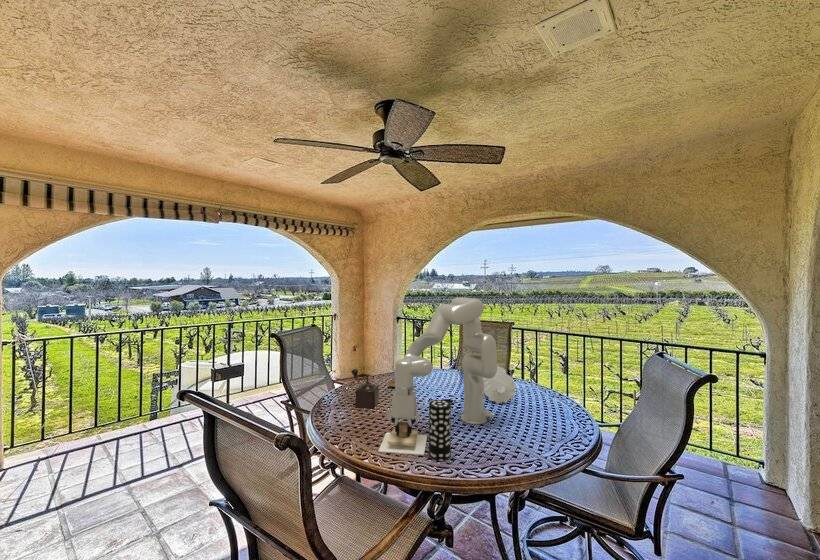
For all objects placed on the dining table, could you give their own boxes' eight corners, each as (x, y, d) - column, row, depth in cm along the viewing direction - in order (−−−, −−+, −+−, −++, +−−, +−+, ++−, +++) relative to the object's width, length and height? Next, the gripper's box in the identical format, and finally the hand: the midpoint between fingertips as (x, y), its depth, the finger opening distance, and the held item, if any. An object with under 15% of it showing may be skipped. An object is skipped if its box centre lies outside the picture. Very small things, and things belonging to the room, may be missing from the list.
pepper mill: (379, 401, 186) (379, 369, 186) (374, 409, 175) (374, 374, 175) (352, 399, 188) (352, 367, 188) (345, 407, 178) (345, 373, 177)
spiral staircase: (497, 397, 204) (509, 412, 179) (471, 384, 205) (479, 397, 180) (510, 369, 205) (524, 380, 180) (484, 357, 205) (494, 366, 180)
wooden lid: (418, 433, 144) (418, 419, 144) (415, 445, 133) (415, 430, 133) (392, 431, 145) (392, 417, 145) (387, 443, 134) (387, 428, 134)
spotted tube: (448, 449, 135) (448, 399, 135) (452, 460, 127) (452, 407, 126) (428, 449, 135) (428, 399, 134) (429, 461, 126) (430, 407, 126)
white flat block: (427, 435, 146) (427, 434, 146) (423, 455, 130) (423, 454, 130) (386, 433, 149) (386, 432, 149) (378, 452, 133) (378, 451, 133)
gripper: (424, 388, 142) (424, 431, 142) (385, 386, 144) (385, 428, 144) (423, 394, 134) (422, 440, 134) (382, 391, 137) (381, 437, 137)
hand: (403, 433), depth 139 cm, fingers closed on wooden lid, 4 cm apart
